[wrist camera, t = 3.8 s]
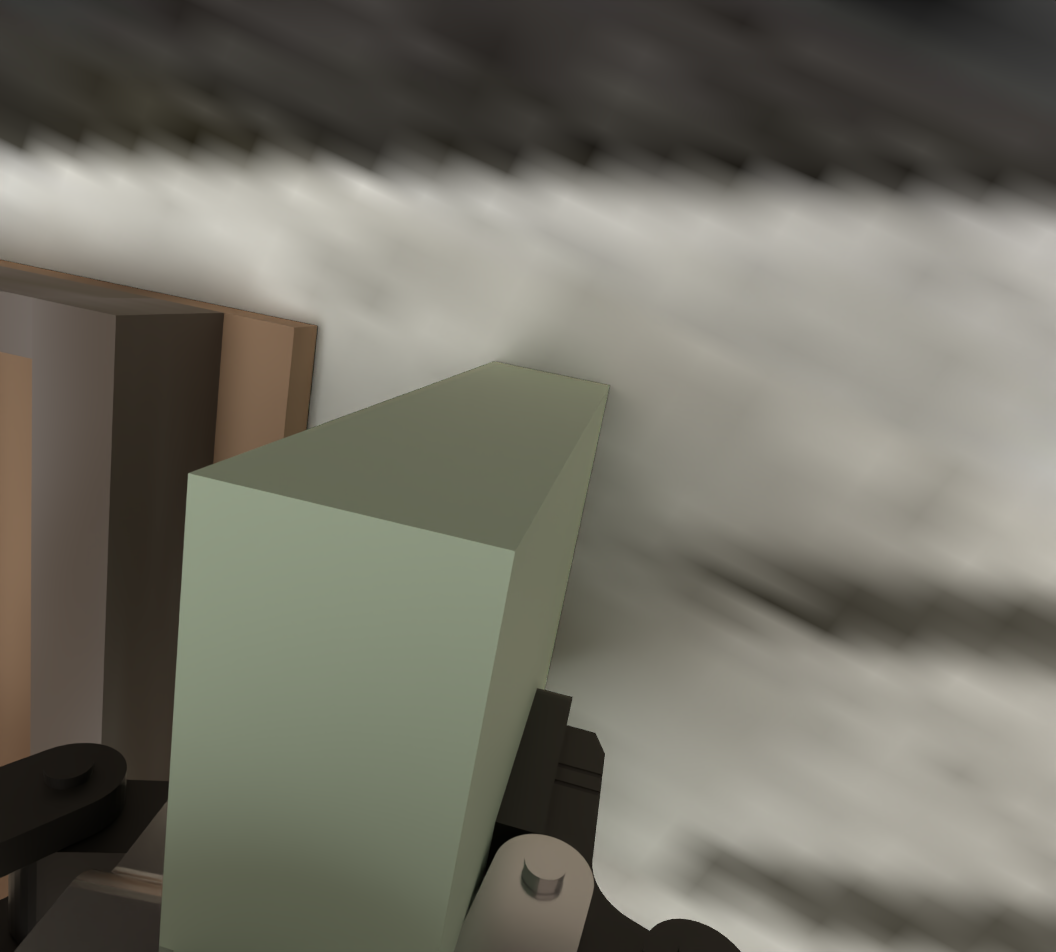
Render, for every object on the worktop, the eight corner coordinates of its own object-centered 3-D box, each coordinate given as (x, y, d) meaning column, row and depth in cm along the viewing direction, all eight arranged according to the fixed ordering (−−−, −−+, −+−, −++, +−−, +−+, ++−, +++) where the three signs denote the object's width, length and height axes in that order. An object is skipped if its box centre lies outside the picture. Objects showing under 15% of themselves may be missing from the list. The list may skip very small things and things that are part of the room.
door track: (317, 325, 15) (202, 333, 11) (225, 1186, 22) (134, 1374, 18) (-96, 239, 16) (-327, 220, 13) (-63, 1081, 23) (-205, 1236, 19)
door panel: (609, 385, 14) (516, 550, 5) (505, 871, 18) (322, 1554, 8) (494, 361, 15) (188, 473, 5) (411, 843, 18) (126, 1470, 8)
